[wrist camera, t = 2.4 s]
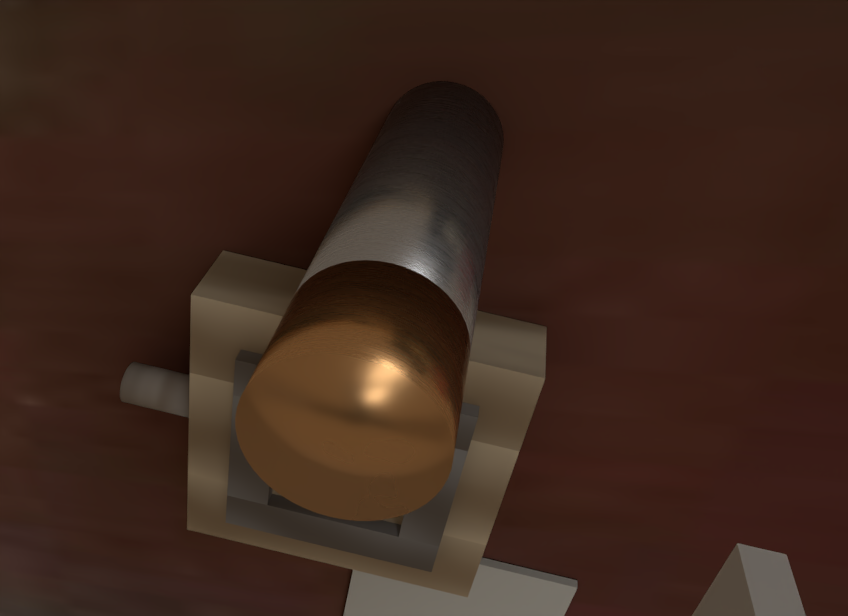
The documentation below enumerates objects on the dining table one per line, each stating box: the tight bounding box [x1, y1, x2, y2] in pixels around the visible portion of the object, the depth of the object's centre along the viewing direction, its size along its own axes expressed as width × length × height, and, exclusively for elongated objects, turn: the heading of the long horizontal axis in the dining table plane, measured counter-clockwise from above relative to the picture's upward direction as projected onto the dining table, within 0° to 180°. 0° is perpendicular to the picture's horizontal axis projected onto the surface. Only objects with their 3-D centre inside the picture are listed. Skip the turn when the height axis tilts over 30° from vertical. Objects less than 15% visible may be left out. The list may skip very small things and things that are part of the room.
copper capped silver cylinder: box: [235, 81, 504, 521], centre depth 19 cm, size 4×4×14 cm
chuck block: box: [120, 250, 547, 597], centre depth 30 cm, size 12×15×4 cm
